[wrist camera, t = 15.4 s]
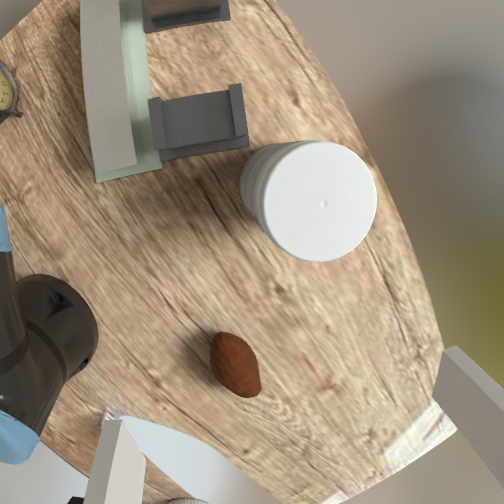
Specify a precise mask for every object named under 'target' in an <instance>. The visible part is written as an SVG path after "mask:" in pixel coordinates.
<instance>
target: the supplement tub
mask: <svg viewBox="0 0 504 504" xmlns="http://www.w3.org/2000/svg"><path fill="white" fill-rule="evenodd" d="M239 188H240V195H241V198H242V201H243V203H244V205H245V206H246V208H247V210H248V211H249V212H250V214H251V215H252V216H253V218H254V219H255V220H256V222H257V223H258V224H259V226H260V227H261V229H262V230H263V231H264V232H265V234H266V235H267V236H268V237H269V239H270V240H271V241H272V242H273V243H274V244H275V245H276V246H278V247H279V248H280V249H282V250H283V251H285V252H286V253H288V254H289V255H291V256H293V257H295V258H298V259H300V260H304V261H308V262H325V261H330V260H334V259H337V258H339V257H341V256H343V255H345V254H347V253H348V252H350V251H351V250H353V249H354V248H355V247H356V246H357V245H358V244H359V243H360V242H361V241H362V240H363V238H364V237H365V235H366V234H367V232H368V231H369V229H370V227H371V224H372V222H373V219H374V215H375V211H376V202H377V196H376V188H375V184H374V180H373V178H372V175H371V173H370V171H369V169H368V168H367V166H366V165H365V163H364V162H363V161H362V159H361V158H360V157H359V156H358V155H356V154H355V153H354V152H353V151H351V150H350V149H348V148H346V147H344V146H341V145H339V144H336V143H332V142H328V141H322V140H306V141H296V142H286V143H277V144H272V145H268V146H265V147H263V148H261V149H259V150H258V151H256V152H255V153H254V154H253V155H251V156H250V158H249V159H248V160H247V162H246V163H245V165H244V167H243V169H242V171H241V175H240V181H239Z"/></svg>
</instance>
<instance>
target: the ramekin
mask: <svg viewBox="0 0 504 504" xmlns="http://www.w3.org/2000/svg"><path fill="white" fill-rule="evenodd" d="M168 504H210V503H208V502H206V501H203V500H200V499H193V498H181V499H176V500H173V501H171V502H169V503H168Z"/></svg>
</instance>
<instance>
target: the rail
mask: <svg viewBox="0 0 504 504" xmlns="http://www.w3.org/2000/svg"><path fill="white" fill-rule="evenodd" d="M80 26H81V53H82V69H83V82H84V92H85V102H86V111H87V119H88V126H89V134H90V140H91V147H92V153H93V159H94V165H95V170H96V174H100V173H105V172H109V171H113V170H117V169H121V168H125V167H129V166H134V165H138V164H143V163H146V160H145V154H144V148H143V142H142V136H141V129H140V123H139V116H138V108H137V101H136V93H135V85H134V76H133V67H132V57H131V47H130V35H129V22H128V6H127V0H80Z"/></svg>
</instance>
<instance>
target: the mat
mask: <svg viewBox="0 0 504 504" xmlns="http://www.w3.org/2000/svg"><path fill="white" fill-rule="evenodd" d="M127 6H128V22H129V35H130V47H131V57H132V67H133V76H134V85H135V93H136V101H137V108H138V116H139V123H140V129H141V136H142V142H143V148H144V154H145V160H146V163H143V164H138V165H134V166H129V167H125V168H121V169H117V170H113V171H109V172H105V173H100V174H96V170H95V165H94V159H93V153H92V147H91V140H90V134H89V140H90V147H91V153H92V160H93V165H94V171H95V177H96V182H97V183H100V182H104V181H108V180H112V179H116V178H121V177H125V176H129V175H134V174H138V173H143V172H147V171H152V170H157V169H162V168H163V167H162V161H160V155H159V150H155V149H154V142H153V136H152V129H151V122H150V115H149V108H148V100H147V99H151V98H152V92H151V84H150V76H149V67H148V58H147V48H146V37H145V33H144V26H143V13H142V0H127ZM80 43H81V26H80ZM81 64H82V53H81ZM82 78H83V69H82ZM83 90H84V82H83ZM84 100H85V92H84ZM85 110H86V102H85ZM86 118H87V111H86ZM87 126H88V119H87ZM88 133H89V126H88Z"/></svg>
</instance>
